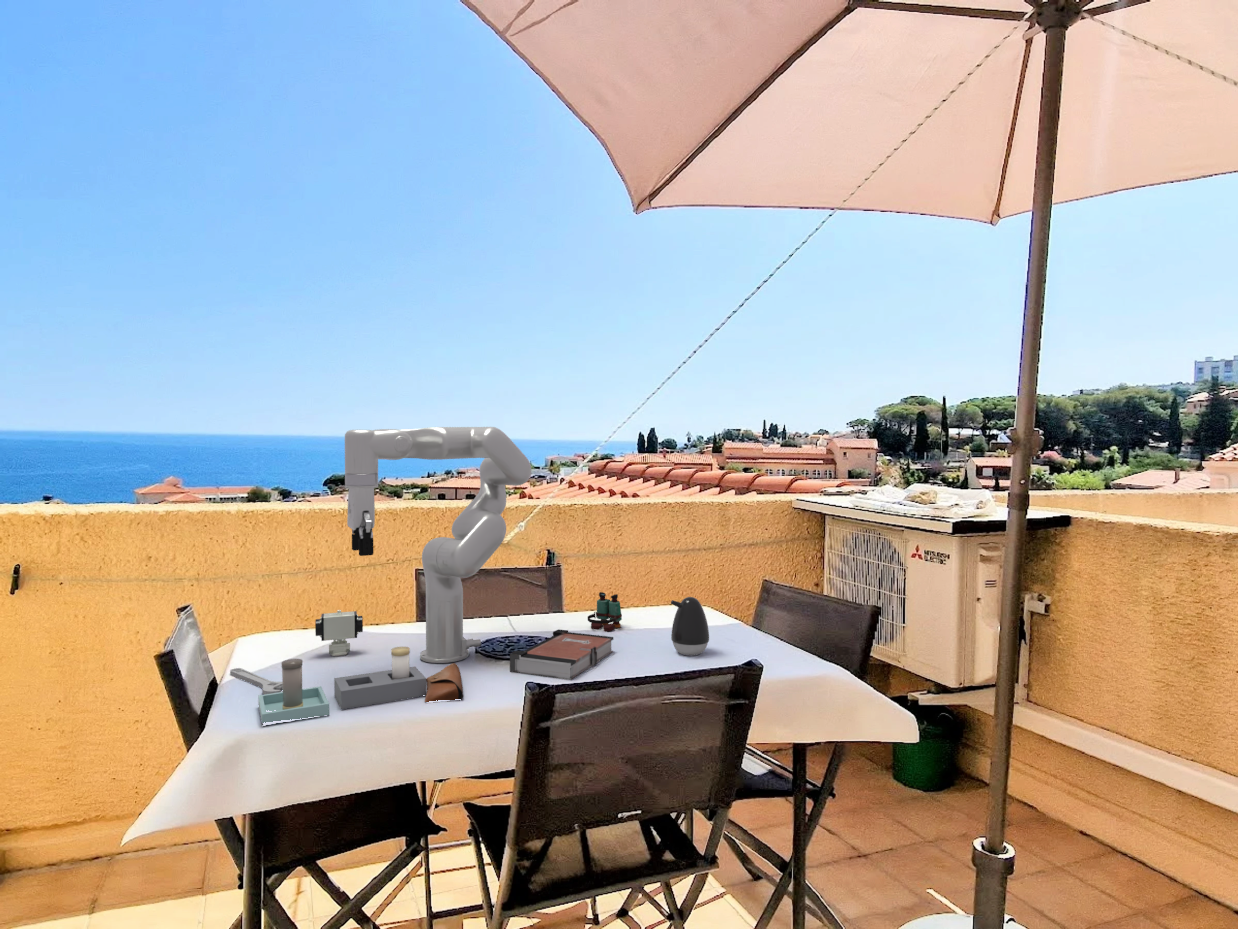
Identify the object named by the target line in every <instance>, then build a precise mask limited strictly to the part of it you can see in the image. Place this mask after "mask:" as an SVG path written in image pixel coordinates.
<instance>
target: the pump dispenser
mask: <svg viewBox="0 0 1238 929" xmlns="http://www.w3.org/2000/svg"><path fill="white" fill-rule="evenodd" d="M670 604H671V605H673V606H675V607H677V610H676V612H675V615H674V618H673V622H672V626H671V634H670V636H671V638H670V639H671V641H672V645H673V648H674V649H675V650H676V652H678V653H679V654H681V655H684V656H690V657H692V656H693V657H694V656H699V655H701V654H702V653H703V652H705V650H706V649H707V647H708V643H709V642H710V631H709V625H708V620H707V617H706V616H707V615H706V613H705V610H704V607H703V606H702V603H701V602H700V601H699V599H697V598H695V597H693V596H687V597H684V598H683V599H682V601H681V602H679V601H676V600H674V599H671V601H670Z"/></svg>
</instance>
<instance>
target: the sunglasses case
mask: <svg viewBox="0 0 1238 929" xmlns="http://www.w3.org/2000/svg"><path fill="white" fill-rule="evenodd" d="M461 673H462V672H461V671H460V667H459V665H458V664H456V663H455V662H451V663H450V664H448V665H447V666H445V667H444V668H443V669H441V670H440V671H438V672H436V673H434V674H432V675H430V676H428V677H426V696H424V703H425V702H429V701H436V700H437V701H438V700H455V699H461V701H462V700H463V699H464V691H463V690H464V687H463V681H462V675H461Z"/></svg>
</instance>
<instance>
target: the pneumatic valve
mask: <svg viewBox="0 0 1238 929" xmlns="http://www.w3.org/2000/svg"><path fill="white" fill-rule="evenodd" d="M357 612H358V611H357V610H355V611H342V610H341V609H337V611H336V612H329V613H321V616H320V618H317V619H315V621H314V622H315V625H314V626H315V632H314V633H315V637H320V638H321V642H324V641H331V644H329V645H328V654H330V655H331V657H334V656H335V657H344V655H345V656H348V653H350V652H351V643H350V642H348V640H347V639H357V638H358V635H359V633H363V631H364V630H363V629H364V627H363V626H364V623H363V622H364V620H363V619H364V618H363V615H359V614H358V613H357ZM335 657H334V658H335Z"/></svg>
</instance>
